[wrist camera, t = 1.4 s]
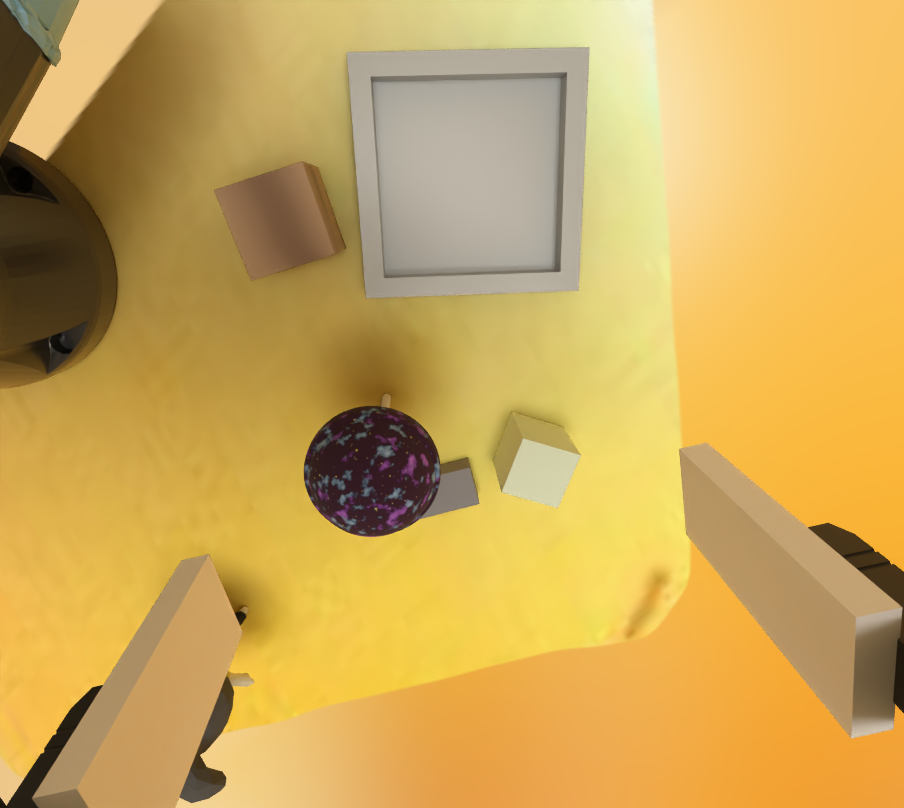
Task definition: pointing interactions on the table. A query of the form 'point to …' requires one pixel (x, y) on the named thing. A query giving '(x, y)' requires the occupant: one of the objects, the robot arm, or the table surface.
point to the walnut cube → (281, 219)
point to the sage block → (535, 460)
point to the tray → (469, 169)
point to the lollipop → (372, 470)
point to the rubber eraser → (454, 488)
